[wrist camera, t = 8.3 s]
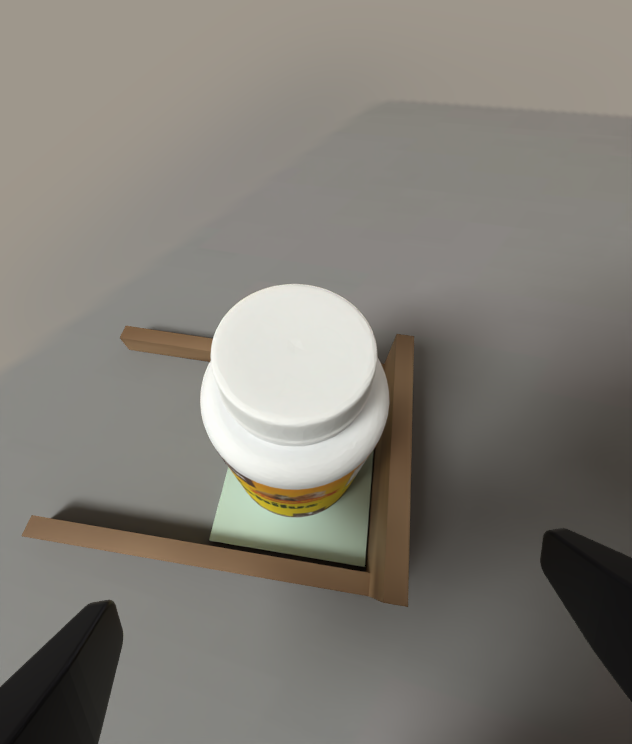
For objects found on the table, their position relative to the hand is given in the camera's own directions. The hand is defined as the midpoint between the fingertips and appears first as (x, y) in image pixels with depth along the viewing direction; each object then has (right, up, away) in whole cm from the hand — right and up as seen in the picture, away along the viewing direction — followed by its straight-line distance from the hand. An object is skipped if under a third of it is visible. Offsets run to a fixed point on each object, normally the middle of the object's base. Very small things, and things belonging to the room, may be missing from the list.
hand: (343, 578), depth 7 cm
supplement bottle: (-1, 0, +10) cm, 10 cm away
